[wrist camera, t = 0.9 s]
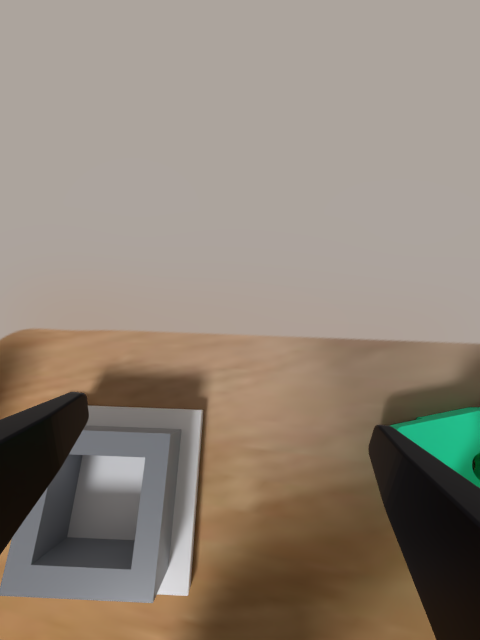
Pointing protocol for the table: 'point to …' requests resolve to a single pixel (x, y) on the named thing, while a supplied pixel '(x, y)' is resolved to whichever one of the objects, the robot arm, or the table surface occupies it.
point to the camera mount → (449, 439)
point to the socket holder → (115, 512)
